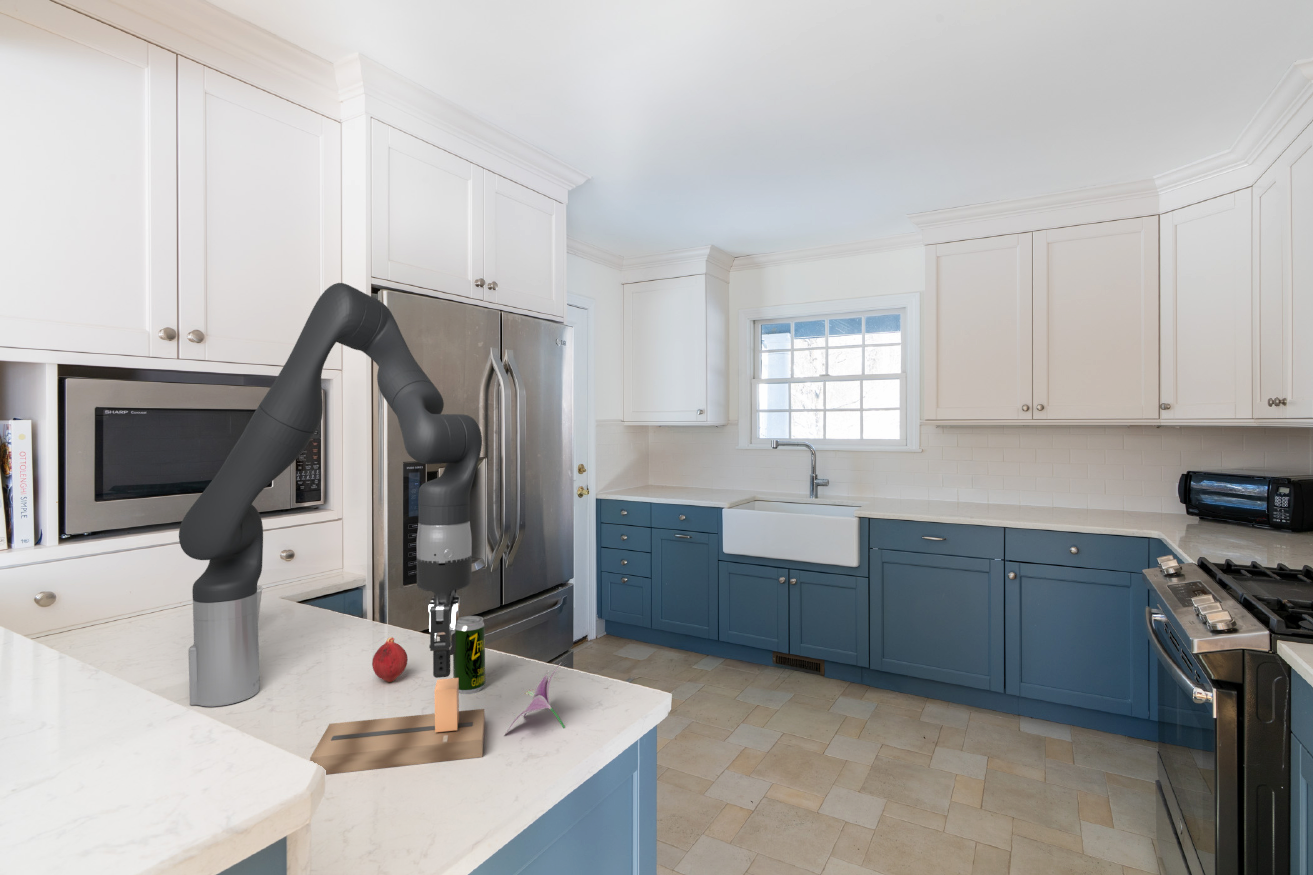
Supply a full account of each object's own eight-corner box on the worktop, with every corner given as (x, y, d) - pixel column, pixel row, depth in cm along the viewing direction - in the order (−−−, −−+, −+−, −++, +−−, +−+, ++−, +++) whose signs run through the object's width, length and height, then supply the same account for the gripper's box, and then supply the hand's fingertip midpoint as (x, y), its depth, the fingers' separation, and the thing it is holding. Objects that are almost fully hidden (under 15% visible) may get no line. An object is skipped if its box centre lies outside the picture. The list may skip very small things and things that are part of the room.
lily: (558, 709, 111) (528, 660, 110) (604, 699, 104) (573, 647, 103) (508, 761, 101) (476, 708, 101) (556, 755, 94) (521, 697, 94)
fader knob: (435, 732, 95) (434, 690, 94) (437, 719, 99) (437, 679, 98) (457, 729, 95) (456, 688, 95) (459, 717, 99) (458, 677, 99)
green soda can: (447, 692, 115) (446, 623, 115) (465, 680, 120) (464, 614, 120) (474, 696, 114) (473, 626, 113) (491, 683, 119) (490, 616, 118)
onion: (395, 689, 116) (394, 644, 116) (365, 687, 117) (364, 642, 117) (413, 677, 122) (413, 633, 122) (385, 674, 123) (384, 631, 123)
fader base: (310, 776, 88) (310, 756, 88) (329, 740, 98) (329, 722, 98) (482, 756, 93) (482, 738, 93) (484, 724, 103) (484, 707, 103)
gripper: (423, 544, 102) (423, 650, 103) (409, 565, 88) (410, 686, 89) (474, 543, 104) (474, 646, 104) (468, 562, 90) (468, 682, 90)
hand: (444, 665), depth 96 cm, fingers open, 8 cm apart
